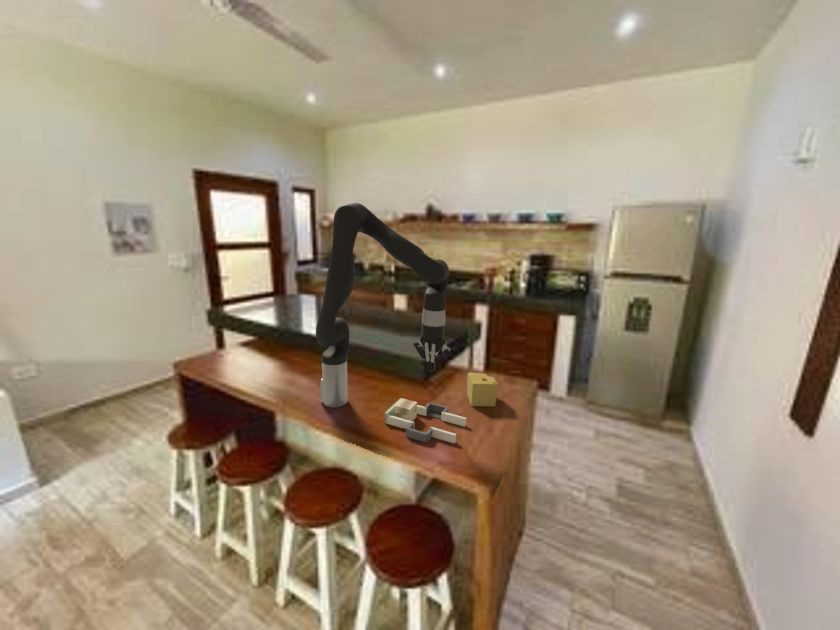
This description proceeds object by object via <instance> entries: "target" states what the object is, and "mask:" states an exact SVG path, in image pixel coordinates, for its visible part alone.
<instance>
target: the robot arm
mask: <svg viewBox="0 0 840 630" xmlns="http://www.w3.org/2000/svg"><path fill="white" fill-rule="evenodd" d="M359 233H362V234H364V235H366V236H369V237H371V238H372V239H374V240H375V241H376V242H377V243H379V245H381V246H382V247H383V249H384V250H385V251H386V252H387V253H388V254H389V255H390V256H391V257H392V258H394V259H395V260H397V261H398V262H400V263H401V264H403V265H405V266H406V267H408V268H410V269H411V270H412V271H413V272H414V273H416V275H418V276H419V278H421V279H422V280H424V281H425V282H426V289H425V292H424V296H423V308H422V313H421V314H422V315H421V335H420V338H419V340H417V341H416V342H414V343H413V347H414V348H415V349H416V352H417V353H418V355H419V356H420V358H421V359H422V360H426V363H425V369H426V370H427V372H428V373H433V372H434V371H435V370H436V364H437V363H439V362H440V361H441V360H442V359H443V358H444V357H445V356H446V355H447V354H448V353H449V352H450V351H451V350H452V348H451V347H449V346H447V344H446V341H445V331H446V330H445V329H446V301H447V300H446V299H447V298H446V297H447V296H446V295H447V289H448V284H449V276H450V269H449V266H448V264H447V262H446V261H444V260H443V259H438V258H437V259H434V258H432V257H430V256H429V255H428V254H426V253H425V252H424V250H423V249H422V248H421V247H419V246H418V245H416V244H415V243H413V242H412V241H410V240H409V239H407V238H405V237H404V236H402V235H400V234H399V233H397V232H396V231H395V230H393V229H392V228H391V227H390V226H388V225H387V224H385V222H383V220H380V218H378V216H376V215H375V213H373V212H372V211H371V210H369V209H368V208H367V207H366V206H365V205H363V204H361V203H358V202H352V203H345V204H342V205H340V206H339V207H337V209H336V210H335V212H334V216H333V227H332V244H331V245H332V246H331V251H330V257H329V263H328V269H327V274H326V280H325V286H324V287H325V289H324V294H323V299H322V303H321V307H320V311H319V316H318V319H317V322H316V327H315V338H316V340H317V342H318V344H319V345H320V346H322V347H328V348H327V349H326V350H325V351H323V352H322V354H321V372H322V373H321V376H322V377H321V379H320V381H319V382H320V383H319V384H320V386H319V387H320V403H323V405H324V406H325V407H327V408H340V407H343V406H345V405H346V404H347V403H348V399H349V398H348V397H349V396H348V392H349V391H348V356H349V352H350V327H349V324H348V322H347V320H346V319H344V318H343V317H338V314H339V311H340V310H341V309H342V307H343V306H344V305H345V303H346V302H347V300H348V299H349V298H350V296H351V294H352V292H353V289H354V286H355V285H354V284H355V279H356V275H357V274H356V272H357V271H356V264H355V258H354V248H355V243H356V239H357V235H358V234H359ZM440 350H441V351H442V352H441V354H440V355H439V356H438V353H439V352H440Z"/></svg>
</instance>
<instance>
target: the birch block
mask: <svg viewBox="0 0 840 630" xmlns="http://www.w3.org/2000/svg"><path fill="white" fill-rule="evenodd" d="M401 398H402V397H401ZM417 405H418V402H417V401H414V400H411V399H407V398H402V399H401V400H400V401H399V402H398V403H397V404H396V405H395V413H394V416H395V417H398V418H402V419H405V420H409V421H412V422H414V420H415V419H416V418H417V417H418V416H417V415H418V414H417Z"/></svg>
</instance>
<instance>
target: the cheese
mask: <svg viewBox="0 0 840 630" xmlns="http://www.w3.org/2000/svg"><path fill="white" fill-rule="evenodd" d="M498 386H499V385H498V383H497V381H496V379H495V377H494V376H490V375H488V374H486V373H482V372H467V378H466V391H467V398H468V401H469V404H470V407H491V408H492V407H496V403H497V395H498Z"/></svg>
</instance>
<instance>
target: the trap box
mask: <svg viewBox="0 0 840 630" xmlns="http://www.w3.org/2000/svg"><path fill="white" fill-rule="evenodd" d="M401 399H402V397H399V399H398V400H397V401H396V402H395V403H393V404H392V405H391V407H389V408H388V409H387V410H386V411H385V412H384V424H387V425H391V426H394V427H398V428H401V429H403V428H404V429H403V430H405V437H406V438H408V437H409V438H408V439H411V438H412V440H416V441H418V440H419V442H421V441H422V443H424V442H425V444H427V443H429V441H430V440H432V438H434V439H437V440H441V441H444V442H448V443H452V444H455V443H456V442H457V441H456V440H457V433H454V432H450V431H448V430H444V429H440V428H438V427H433V426H430V427H429V429H428V430H427V431H426V432H424V431H421V430H417V429H416V428H415V421H409V420H405V419H402V418H398V417H395V416H394V413H395V405H396V404H397V403H398V402H399V401H400V400H401ZM417 415H421V416H425V417H426V416H428V417H431V418H434V419H438V420H440V421H442V422H447V423H450V424H454V425H457V426H461V427H464V428H465V427H466V425H467V417H464V416H461V415H457V414H454V413H450V412H449V407H448V406H446V405H442V404H437V403H435V402H434V403H433V402H427V403H426V404H425V406H424V405H419V404H417ZM431 437H432V438H431Z"/></svg>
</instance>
